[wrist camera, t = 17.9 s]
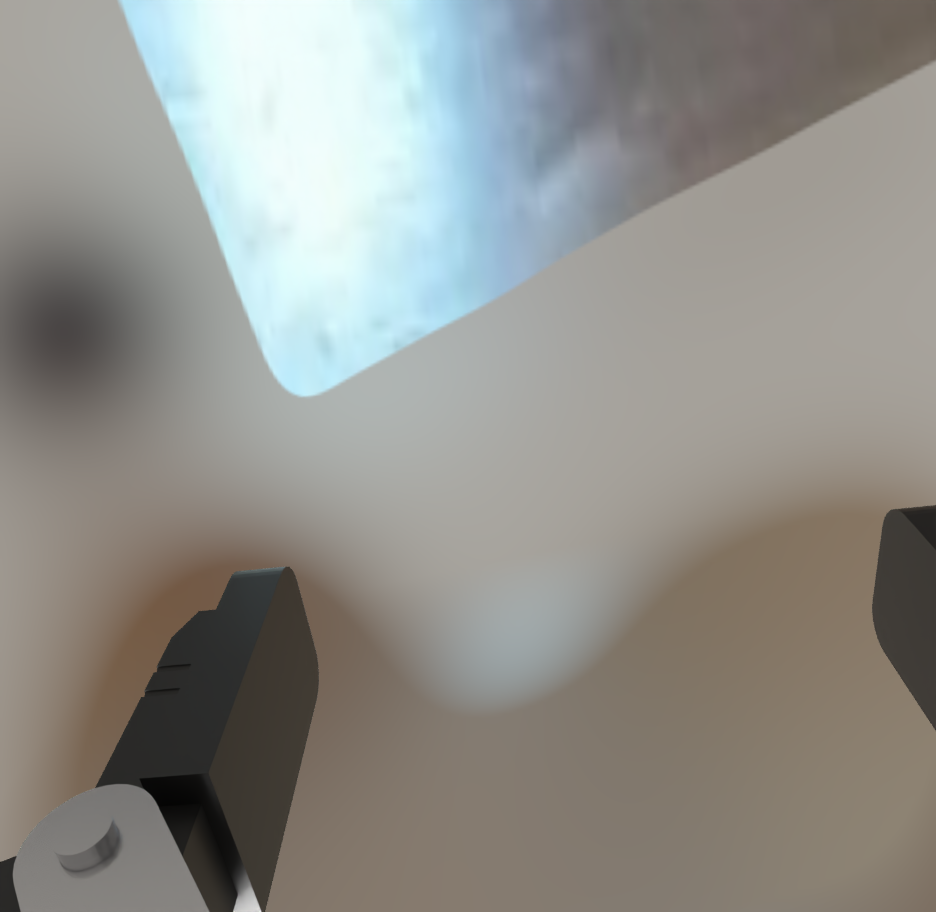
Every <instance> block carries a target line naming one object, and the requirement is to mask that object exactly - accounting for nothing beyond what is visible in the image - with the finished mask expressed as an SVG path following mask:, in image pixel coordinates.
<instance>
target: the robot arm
mask: <svg viewBox="0 0 936 912" xmlns="http://www.w3.org/2000/svg"><path fill="white" fill-rule="evenodd" d="M872 613H873V622H874V627H875V631H876V634H877V638H878V640H879V643H880V645H881V647H882V649H883V651H884V652H885V654H886V656H887V657H888V659H889V660H890V662H891V663H892V665H893V666H894V668H895V669H896V671H897V672H898V674H899V675H900V677H901V679H902V680H903V682H904V683H905V684H906V686H907V688H908V689H909V691H910V692H911V694H912V695H913V696H914V698H915V700H916V701H917V703H918V704H919V706H920V707H921V709H922V710H923V712H924V714H925V715H926V717H927V718H928V720H929V721H930V723H931V724H932V726H933V727H934V728H935V730H936V505H934V506H923V507H913V508H902V509H893V510H890V511H889V512H888V513H887V514H886V517H885V519H884V522H883V527H882V535H881V542H880V549H879V557H878V565H877V572H876V580H875V587H874V595H873V604H872ZM318 684H319V672H318V660H317V654H316V650H315V646H314V642H313V639H312V635H311V631H310V627H309V624H308V620H307V616H306V613H305V609H304V605H303V601H302V598H301V594H300V590H299V587H298V583H297V579H296V576H295V574H294V572H293V570H292V569H291V568H290V567H278V568H267V569H257V570H247V571H237V572H235V573H234V574H233V575H232V576H231V578H230V580H229V582H228V584H227V587H226V589H225V591H224V593H223V595H222V598H221V600H220V602H219V604H218V606H217V609H216V610H208V611H199V612H198V613H197V614H196V615H195V616H194V617H193V618H191V620H190V621H188V622H187V623H186V624H185V625H184V626H183V628H181V629H180V630H179V631H178V632H177V633H176V634H175V635H174V636H173V637H172V638H171V640H170V642H169V644H168V646H167V648H166V650H165V652H164V654H163V655H162V658H161V660H160V661H159V663H158V665H157V672H155V673H153V675H152V677H151V679H150V681H149V683H148V685H147V687H146V689H145V697H141V699H140V701H139V703H138V705H137V707H136V709H135V711H134V713H133V715H132V717H131V719H130V720H129V722H128V725H127V726H126V728H125V730H124V732H123V734H122V736H121V738H120V740H119V742H118V744H117V746H116V748H115V750H114V752H113V754H112V756H111V758H110V760H109V762H108V764H107V766H106V768H105V770H104V772H103V774H102V776H101V778H100V780H99V782H98V783H97V786H96V787H95V788H94V789H91V790H89V791H86V792H83V793H81V794H79V795H77V796H75V797H73V798H71V799H70V800H68V801H66V802H65V803H63V804H61V805H60V806H58V807H57V808H56V809H54V810H53V811H52V812H50V813H49V814H48V815H47V816H46V817H45V818H44V819H43V820H42V821H40V822H39V824H38V825H37V826H36V827H35V828H34V829H33V830H32V831H31V832H30V834H29V835H28V837H27V838H26V840H25V841H24V842H23V844H22V846H21V848H20V850H19V852H18V854H17V856H15V857H12V858H10V859H7V860H5V861H2V862H0V912H265V910H266V905H267V901H268V897H269V893H270V889H271V885H272V881H273V877H274V872H275V868H276V864H277V860H278V856H279V852H280V848H281V843H282V840H283V835H284V831H285V827H286V823H287V819H288V815H289V811H290V807H291V802H292V799H293V794H294V790H295V786H296V782H297V778H298V773H299V770H300V766H301V761H302V757H303V753H304V749H305V745H306V741H307V737H308V733H309V728H310V724H311V720H312V716H313V712H314V708H315V704H316V700H317V694H318Z"/></svg>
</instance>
